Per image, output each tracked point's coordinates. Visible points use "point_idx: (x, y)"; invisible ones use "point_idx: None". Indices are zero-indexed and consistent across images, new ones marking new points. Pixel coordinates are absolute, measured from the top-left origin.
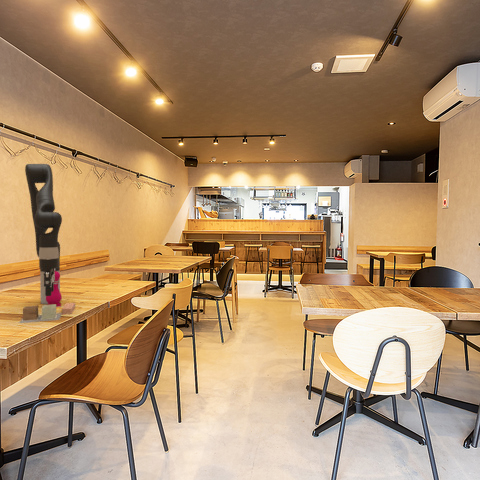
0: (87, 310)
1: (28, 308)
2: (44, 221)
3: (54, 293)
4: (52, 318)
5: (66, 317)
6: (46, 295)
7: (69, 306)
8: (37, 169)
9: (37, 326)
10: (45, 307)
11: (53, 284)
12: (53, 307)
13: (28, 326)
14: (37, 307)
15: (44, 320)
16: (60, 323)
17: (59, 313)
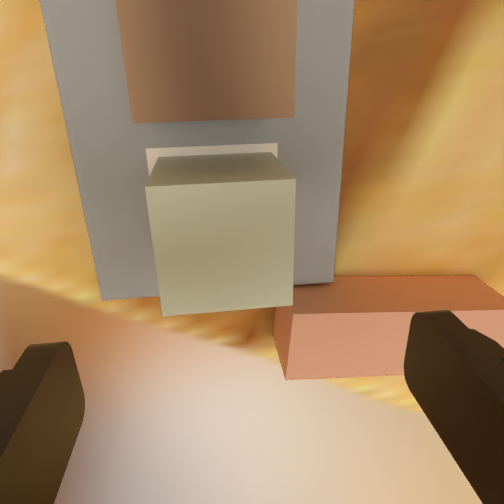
0: (406, 400)
1: (132, 8)
2: None
3: None
4: None
5: (255, 310)
6: (35, 357)
7: (371, 354)
8: None
9: (5, 142)
10: (152, 227)
11: (491, 502)
12: (160, 301)
13: (15, 55)
14: (226, 118)
15: (101, 189)
16: (78, 301)
17: (325, 266)
